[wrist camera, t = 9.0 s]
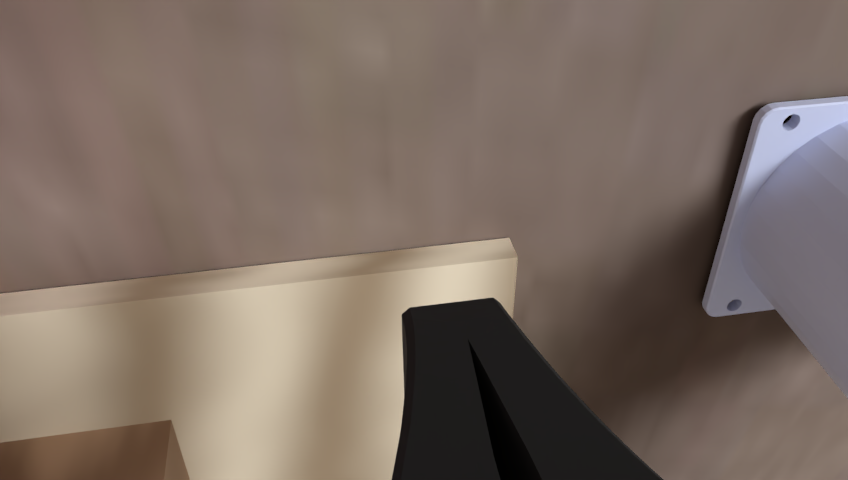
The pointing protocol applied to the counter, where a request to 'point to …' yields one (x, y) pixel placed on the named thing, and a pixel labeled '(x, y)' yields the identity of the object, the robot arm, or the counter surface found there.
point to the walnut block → (97, 455)
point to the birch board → (240, 357)
